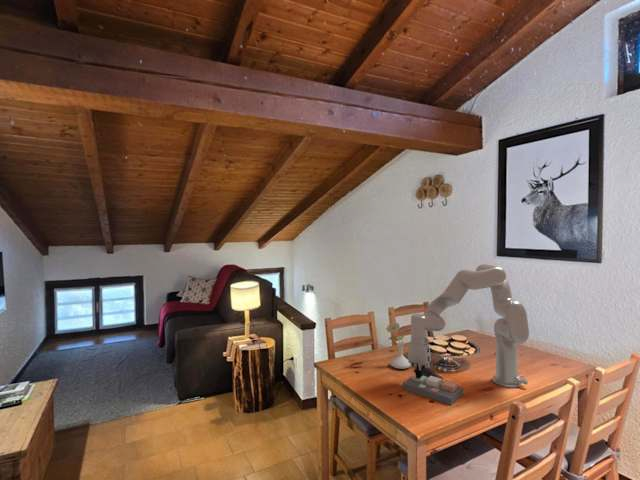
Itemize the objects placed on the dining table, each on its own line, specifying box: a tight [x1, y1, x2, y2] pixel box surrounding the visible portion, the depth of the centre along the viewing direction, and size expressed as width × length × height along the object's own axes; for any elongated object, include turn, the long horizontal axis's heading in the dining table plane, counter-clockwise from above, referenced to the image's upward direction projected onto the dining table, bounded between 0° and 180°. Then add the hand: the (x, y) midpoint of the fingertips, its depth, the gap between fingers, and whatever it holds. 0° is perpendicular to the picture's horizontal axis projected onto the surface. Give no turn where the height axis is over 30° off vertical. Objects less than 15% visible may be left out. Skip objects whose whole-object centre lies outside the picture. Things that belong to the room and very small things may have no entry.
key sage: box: [411, 374, 427, 383], centre depth 168 cm, size 5×5×3 cm
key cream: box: [426, 376, 443, 388], centre depth 163 cm, size 5×5×3 cm
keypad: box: [402, 375, 464, 406], centre depth 161 cm, size 23×14×3 cm, turn 48°
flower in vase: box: [386, 321, 412, 370], centre depth 191 cm, size 13×11×25 cm
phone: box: [413, 368, 444, 381], centre depth 180 cm, size 8×1×15 cm
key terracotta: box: [442, 379, 459, 393], centre depth 158 cm, size 5×5×3 cm
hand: (418, 377), depth 168 cm, fingers closed
